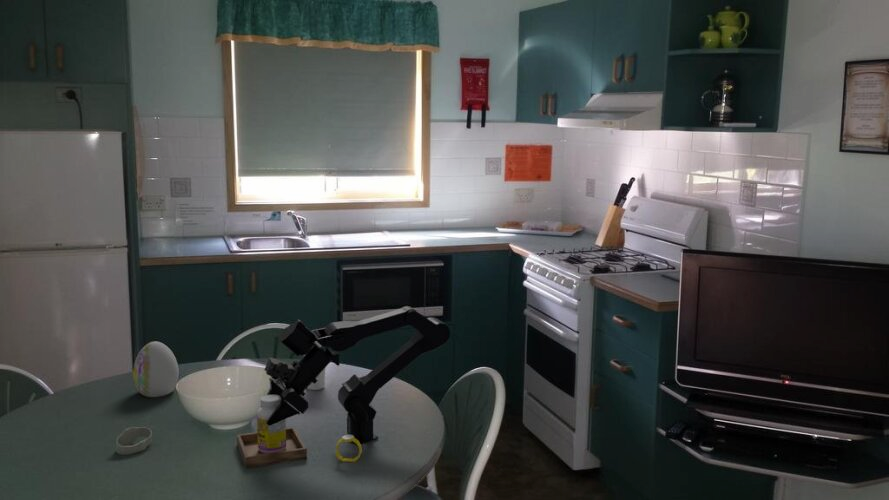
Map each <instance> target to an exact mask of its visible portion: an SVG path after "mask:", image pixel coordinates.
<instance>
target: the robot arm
mask: <svg viewBox="0 0 889 500" xmlns="http://www.w3.org/2000/svg"><path fill="white" fill-rule="evenodd" d="M406 326H410V327H413V328H414V329H415V331H414V332H413V334H412V336H411V338H410V339H409V340H408V341H407V342H406V343H404V344H403V345H401V347H399V348H398V349H397V350H395V352H393V353H392V354H391V355H390V356H388V357H387V358H386V359H385V360H383V361H382V362H381V363H380V364H378V365H377V366H376V367H375V368H374V369H372V370H370V372H369V373H368V374H365V375H363V376H361V377H359V376H357V374H353V375H352V376H351V377H349V379H348V380H347V381H344V382H342V383H341V387H340V388H339V390H338V393H337V399H338V402H339V403H340V405H341V406H342V407H343V409H344V410H345V412H347V413H346V414H347V417H346V435H353V436H354V438H355V439H357V440H358V441H359V442H360V444H361V445H364V444H366V443H369V442H372V441H374V440H377V439H379V436H378V435H377V434H374V420H375V417H376V415H377V411H376V409H375V408H374V407H373V405H372V404H371V403H372V402H373V400H374V398H375V397H376V394H377V392H378V391H379V390H380V389H381V388H383V386H385V385H386V384H387V383H389V382H390V381H391V380H392V379H393V378H395V377H396V376H398V375H399V374H400V373H401V372H402V371H404V369H406V368H407V367H408V366H410V365H411V364H412V363H413V362H414V361H416V359H418V358H419V357H420V356H421V355H423V354H426V353H429V352H433V351H436V350H437V349H439V348H440V347H443V346H444V345H446V344H447V343H448V342H449V341H450V336H451V331H450V330H451V329H450V327H449V326H448V325H447V324H446V323H444V322H442V321H441V320H440V319H438V318H436V317H432V316H431V317H427V316H425V315H423V314H422V313H419V312H418V311H417V310H415V309H414V308H413V307H411V306H410V305H409V306H408V305H406V306H403V307H401V308H398V309H395V310H390V311H388V312H384V313H381V314H378V315H375V316H371V317H368V318H364V319H361V320H354V321H353V320H342V321H334V322H330V323H328V324H327V325H326V326H325V327H322V328H318V329H313V330H310V328H308V327H307V326H305V324H304V323H303V322H302V321H301V320H300V319H297V320H296V321H295V322H292V323H291V324H289V325H288V326H286V327H284V329H283V330H282V331H281V333H280V334H279V336H278V342H279V343H280V344H281V345H283V346H284V347H285V348H286V349H287V350H289V351H290V353H292V354H294V356H296V357H299V356H301V359H299V361H297V360H294V361H292V362H291V364H290V363H287V362H286V361H282V360H279V359H277V358H273V357H269V358H268V361H267V363H266V365H265V368H264V369H263V370H264V371H265V372H266V373H265V374H266V375H267V376H270V377H269V389H268V392H267V394H266V395H278V396H279V405H278V406H277V407H276V409H275V410H274V412H273V413H272V415H271V416H270V417H269V419H268V421H267V422H266V423H267V424H268V425H269V426H271V425H273V424H275V423H277V422H279V421H282V420H284V419H288V418H291V417H294V416H296V415H301V414H302V415H304V414H305V413H306V411H307V410H308V409H309V408H310V407H309V401H308V399H307V398H306V396H305V395H306V392H305V391H306V390H308V389H307V388H308V386H309V385H310V384H311V383H312V382H313V383H314V384H315V383H316V382H317V379H316V378H317V376H318V375H319V374H320V373H321V372H322V371H323V370H324V369H325V370H326V367H328V366H329V364H330V363H334V365H336V366H337V367H339V366H340V364H341V363H340V355H341V354H340V353H339V352H344V351H347V350H348V349H350V348H352V347H354V346H356V345H358V343H360V342H361V341H362V340H364V339H367V338H369V337H373V336H376V335H379V334H383V333H386V332H390V331H393V330H397V329H400V328H403V327H406ZM315 341H317V342H318V343H319V344H320V345H321V347H320V346H318V345H317V344H316V343H315ZM329 348H331V349H329ZM332 350H333V351H332ZM303 355H304V356H303ZM260 405H261V404H260ZM261 407H262V405H261V406H260V408H261ZM350 443H352V444H354V445H357V444H356V443H355V442H353V441H351V442H350Z"/></svg>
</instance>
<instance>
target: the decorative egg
mask: <svg viewBox="0 0 889 500" xmlns="http://www.w3.org/2000/svg"><path fill="white" fill-rule="evenodd" d="M179 374H180V372H179V364H178V361H177V358H176V357H175V355H174V353H173V351H172V350H171V349H170V348H169V347H168V346H167V345H166V344H164V343H162V342H160V341H150V342H148V343H147V344H145V345H144V346H143V347H142V348H141V350H140V351H139V352H138V354H137V356H136V357H135V360H134V364H133V368H132V377H133V378H132V379H133V383H134V386H135V388H136V389H137V391H138V392H139V393H140V394H141V395H142V396H143V397H147V398H159V397H164V396H167V395H170V394H171V393H172V392H173V391H174V390H175V388H176V386H177V384H178V381H179Z"/></svg>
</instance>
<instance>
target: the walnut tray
mask: <svg viewBox="0 0 889 500" xmlns="http://www.w3.org/2000/svg"><path fill="white" fill-rule="evenodd" d="M236 442H237V443H236V445H237V447H238V451H239V453H240V456H241V458H242V461H243V464H244V466H245V468H246V469H249V468H255V467H261V466H269V465H275V464H276V465H277V464H282V463H287V462H288V463H289V462H294V461H303V460H307V459H308V455H307V454H308V453H307V452H308V449H307V447H306V446H305V443H304V442H303V439H302V438H301V436H300V434H299V432H298V431H297V429H296V427H295V426H292V427H286V448H285V450H283V451H279V452H273V453H266V454H265V453H262V452H260V451H259V450H258V435H257V431H256V432H248V433H241V434H236Z"/></svg>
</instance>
